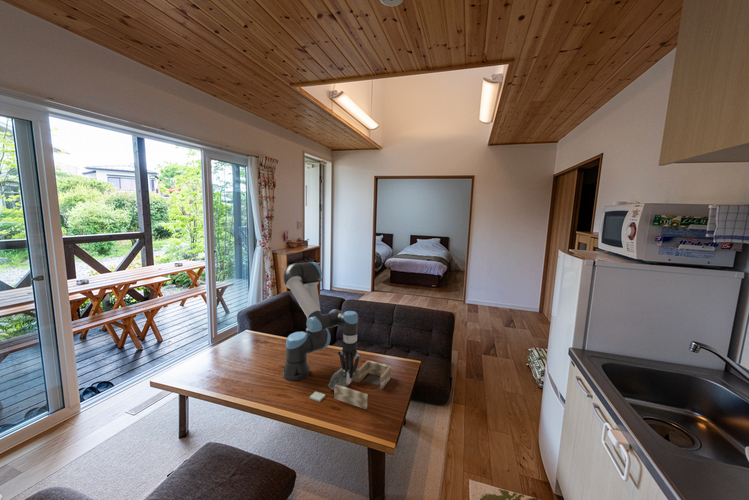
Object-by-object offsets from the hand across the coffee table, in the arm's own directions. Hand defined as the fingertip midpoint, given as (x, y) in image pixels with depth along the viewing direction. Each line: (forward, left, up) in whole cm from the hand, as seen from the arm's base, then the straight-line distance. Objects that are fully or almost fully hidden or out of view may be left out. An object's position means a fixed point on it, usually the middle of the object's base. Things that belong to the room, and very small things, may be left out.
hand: (348, 382), depth 153 cm
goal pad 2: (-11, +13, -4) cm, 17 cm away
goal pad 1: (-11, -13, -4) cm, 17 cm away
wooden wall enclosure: (+7, +6, -4) cm, 10 cm away
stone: (-6, 0, -4) cm, 7 cm away
